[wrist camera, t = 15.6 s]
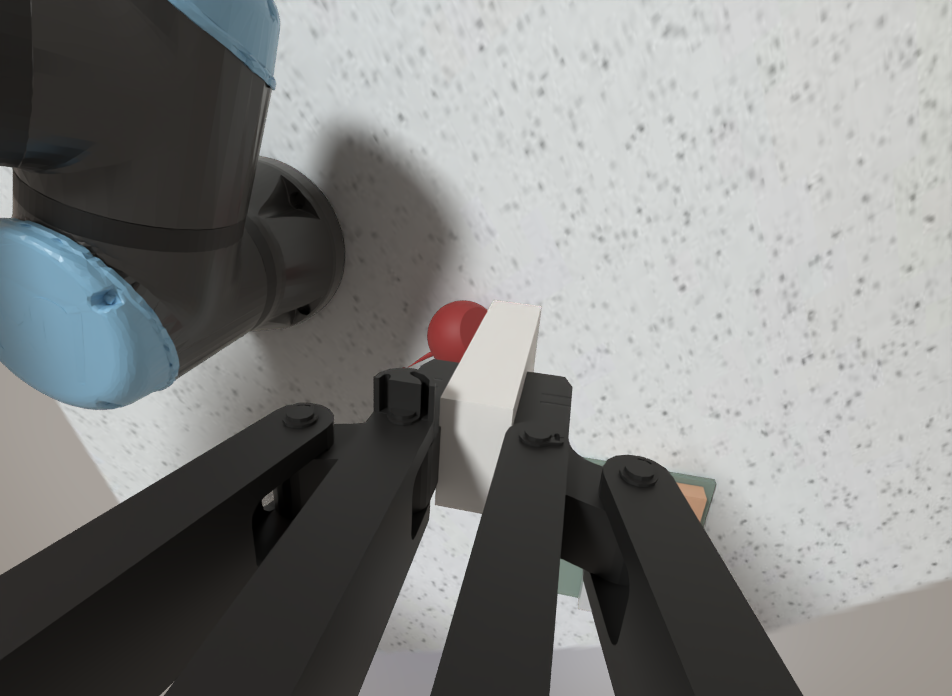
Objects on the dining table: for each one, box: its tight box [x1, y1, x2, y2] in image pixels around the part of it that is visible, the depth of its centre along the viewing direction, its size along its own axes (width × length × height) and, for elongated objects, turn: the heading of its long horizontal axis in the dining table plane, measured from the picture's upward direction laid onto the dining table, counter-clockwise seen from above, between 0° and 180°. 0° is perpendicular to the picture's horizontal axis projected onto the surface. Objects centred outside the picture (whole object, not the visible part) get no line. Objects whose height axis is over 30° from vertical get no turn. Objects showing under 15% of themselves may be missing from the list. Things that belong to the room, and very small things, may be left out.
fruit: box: [403, 301, 488, 368], centre depth 47 cm, size 6×6×8 cm
